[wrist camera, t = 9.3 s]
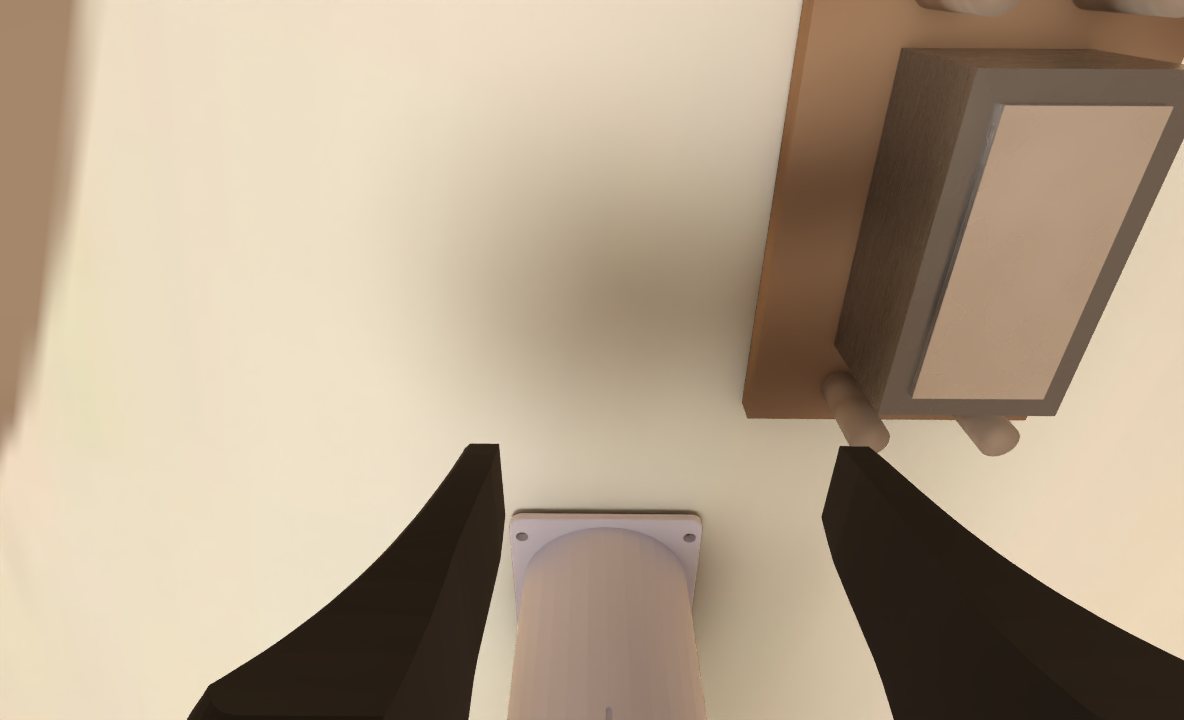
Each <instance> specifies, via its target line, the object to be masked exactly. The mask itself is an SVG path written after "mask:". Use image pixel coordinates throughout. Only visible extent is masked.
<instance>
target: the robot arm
mask: <svg viewBox="0 0 1184 720" xmlns="http://www.w3.org/2000/svg"><path fill="white" fill-rule="evenodd" d="M822 521H823V525H824V529H825V533H826V537H827V541H828V545H829V548H830V552H831V555H832V559H833V562H834V565H835V567H836V570H837V572H838V575H839V577H840V579H841V582H842V584H843V587H844V589H845V592H846V594H847V596H848V599H849V601H850V604H851V606H852V608H853V611H854V613H855V615H856V618H857V620H858V622H859V625H860V627H861V630H862V632H863V634H864V637H865V639H866V641H867V644H868V646H869V649H870V651H871V653H872V656H873V658H874V661H875V663H876V666H877V669H878V671H879V674H880V677H881V680H882V682H883V686H884V689H885V692H886V696H887V699H888V702H889V705H890V709H891V712H892V715H893V718H894V720H1184V660H1182V659H1180V658H1178V657H1176V656H1174V655H1171V654H1169V653H1167V652H1165V651H1163V650H1162V649H1160V648H1158V647H1156V646H1154V645H1152V644H1150V643H1148V642H1146V641H1144V640H1142V639H1140V638H1138V637H1136V636H1134V635H1132V634H1130V633H1128V632H1126V631H1124V630H1122V629H1120V628H1119V627H1117V626H1115V625H1113V624H1111V623H1109V622H1107V621H1106V620H1104V619H1102V618H1100V617H1098V616H1097V615H1095V614H1093V613H1092V612H1090V611H1088V610H1086V609H1085V608H1083V607H1081V606H1079V605H1078V604H1076V603H1074V602H1073V601H1071V600H1069V599H1067V598H1066V597H1064V596H1062V595H1061V594H1059V593H1058V592H1056V591H1054V590H1053V589H1051V588H1049V587H1048V586H1046V585H1045V584H1043V583H1042V582H1040V581H1039V580H1037V579H1036V578H1034V577H1033V576H1031V575H1030V574H1028V573H1027V572H1025V571H1024V570H1022V569H1021V568H1019V567H1018V566H1016V565H1015V564H1013V563H1012V562H1010V561H1009V560H1007V559H1006V558H1004V557H1003V556H1002V555H1000V554H999V553H997V552H996V551H995V550H993V549H992V548H991V547H989V546H988V545H987V544H985V543H984V542H983V541H981V540H980V539H979V538H977V537H976V536H975V535H974V534H972V533H971V532H970V531H968V530H967V529H966V528H964V527H963V526H962V525H961V524H959V523H958V522H957V521H956V520H954V519H953V518H952V517H951V516H950V515H948V514H947V513H946V512H945V511H943V510H942V509H941V508H940V507H939V506H937V505H936V504H935V503H934V502H933V501H932V500H930V499H929V498H928V497H927V496H926V495H925V494H923V493H922V492H921V491H920V490H919V489H918V488H916V487H915V486H914V485H913V484H912V483H911V482H910V481H908V480H907V479H906V478H905V477H904V476H903V475H902V474H900V473H899V472H898V471H897V470H896V469H895V468H894V467H892V466H891V465H890V464H889V463H888V462H887V461H886V460H884V459H883V458H882V457H881V456H880V455H879V454H877V453H876V452H875V451H874V450H873V449H871V448H870V447H869V446H840V448H839V451H838V455H837V459H836V463H835V467H834V471H833V475H832V478H831V482H830V486H829V490H828V494H827V498H826V502H825V506H824V509H823V513H822ZM504 522H505V506H504V495H503V484H502V472H501V461H500V450H499V444H469V445H468V446H467V447H466V448H465V449H464V451H463V453H462V454H461V456H460V457H459V459H458V460H457V462H456V463H455V465H454V466H453V468H452V469H451V471H450V472H449V474H448V475H447V476H446V478H445V479H444V481H443V482H442V483H441V485H440V486H439V487H438V489H437V490H436V491H435V493H434V494H433V495H432V497H431V498H430V499H429V500H428V502H427V503H426V504H425V506H424V507H423V508H422V509H421V511H420V512H419V513H418V514H417V516H416V517H415V518H414V519H413V520H412V521H411V523H410V524H409V525H408V526H407V527H406V528H405V529H404V531H403V532H402V533H401V534H400V535H399V536H398V537H397V539H396V540H395V541H394V542H393V543H392V544H391V545H390V546H389V547H388V548H387V550H386V551H385V552H384V553H383V554H382V555H381V556H380V557H379V558H378V559H377V560H376V561H375V562H374V563H373V564H372V565H371V566H370V567H369V568H368V569H367V570H366V571H365V572H363V573H362V574H361V575H360V576H359V577H358V578H357V579H356V580H355V581H354V582H353V583H351V584H350V585H349V586H348V587H347V588H346V589H345V590H344V591H342V592H341V593H340V594H339V595H338V596H337V597H336V598H334V599H333V600H332V601H331V602H330V603H329V604H327V605H326V606H325V607H324V608H322V609H321V610H320V611H319V612H317V613H316V614H315V615H314V616H312V617H311V618H310V619H308V620H307V621H306V622H304V623H303V624H302V625H300V626H299V627H298V628H296V629H295V630H294V631H292V632H291V633H289V634H288V635H287V636H285V637H284V638H283V639H281V640H280V641H278V642H277V643H276V644H274V645H273V646H271V647H270V648H268V649H267V650H265V651H264V652H262V653H261V654H259V655H257V656H256V657H254V658H253V659H251V660H249V661H248V662H246V663H245V664H243V665H241V666H240V667H238V668H237V669H235V670H234V671H232V672H230V673H229V674H227V675H226V676H224V677H222V678H221V679H219V680H217V681H216V682H214V683H212V684H210V685H209V686H208V688H207V689H206V691H205V693H204V694H203V696H202V697H201V699H200V700H199V701H198V703H197V704H196V706H195V707H194V709H193V710H192V712H191V713H190V715H189V717H188V718H187V720H468V718H469V711H470V703H471V696H472V688H473V681H474V675H475V669H476V664H477V659H478V654H479V650H480V645H481V641H482V637H483V632H484V628H485V624H486V620H487V615H488V611H489V607H490V602H491V598H492V594H493V589H494V585H495V581H496V576H497V572H498V567H499V563H500V558H501V550H502V541H503V532H504ZM509 528H510V540H511V551H512V563H513V575H514V586H515V598H516V610H517V622H518V631H517V639H516V647H515V656H514V664H513V673H512V681H511V690H510V698H509V707H508V715H507V720H707V716H706V709H705V702H704V696H703V689H702V682H701V675H700V669H699V662H698V655H697V648H696V641H695V635H694V628H693V621H692V614H691V613H692V606H693V598H694V590H695V582H696V575H697V567H698V559H699V551H700V544H701V536H702V523H701V519H700V518H699V517H697V516H695V515H684V514H548V513H520V514H516V515H514V516H513V517H512V518H511V521H510V527H509ZM520 532H523V533H526V534H520ZM686 534H692V535H686Z"/></svg>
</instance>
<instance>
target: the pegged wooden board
mask: <svg viewBox="0 0 1184 720" xmlns="http://www.w3.org/2000/svg"><path fill="white" fill-rule="evenodd" d="M901 48H1011V49H1095V50H1101V51H1107V52H1113V53H1119V54H1125V55H1131V56H1137V57H1143V58H1149V59H1155V60H1161V61H1167V62H1172V63H1178V64H1181V63H1182V60H1183V58H1184V0H803V6H802V12H801V19H800V25H799V32H798V39H797V45H796V52H795V58H794V65H793V71H792V78H791V85H790V91H789V98H788V104H787V111H786V117H785V124H784V131H783V137H782V144H781V150H780V157H779V163H778V170H777V177H776V183H775V190H774V196H773V203H772V209H771V216H770V223H769V229H768V236H767V242H766V249H765V255H764V262H763V269H762V275H761V282H760V288H759V295H758V301H757V308H756V315H755V321H754V328H753V334H752V341H751V347H750V354H749V361H748V367H747V374H746V380H745V387H744V393H743V400H742V404H743V406H744V409H745V412H746V415H747V418H768V419H836V421H837V423H838V425H839V426H840V428H841V430H842V432H843V434H844V436H845V438H846V440H847V442H848V443H849V445H850V446H869V447H870V448H871V449H873V450H874V451H875V452H876V453H878V452H879V451H881V450H882V449H884V448H885V447H886V445H887V444H888V442H889V438H890V436H889V432H888V430H887V429H886V427H885V426H884V424H883V422H882V421H881V419H911V420H956V421H957V422H958V423H959V425H960V426H961V427H962V428H963V430H964V431H965V432H966V434H967V435H968V436H969V437H970V439H971V440H972V441H973V442H974V444H975V445H976V446H977V447H978V449H979V450H980V451H981V452H982V453H983V454H985V455H987V456H999V455H1003V454H1005V453H1007V452H1009V451H1011V450H1012V449H1013V448H1014V447H1015V446H1016V445H1017V443H1018V441H1019V438H1020V435H1019V432H1018V430H1017V429H1016V428H1015V427H1014V426H1013V425H1012V424H1011V423H1010V421H1009V420H1026V418H1027V416H979V415H878V414H877V413H876V411H875V409H874V408H873V406H872V405H871V403H870V401H869V400H868V398H867V397H866V395H865V394H864V392H863V390H862V389H861V387H860V386H859V384H858V382H857V381H856V379H855V378H854V376H853V374H852V373H851V371H850V370H849V368H848V366H847V365H846V363H845V362H844V360H843V358H842V357H841V355H840V354H839V352H838V351H837V349H836V347H835V346H834V340H835V336H836V331H837V327H838V323H839V318H840V314H841V310H842V305H843V301H844V296H845V292H846V288H847V283H848V279H849V275H850V270H851V266H852V261H853V257H854V253H855V248H856V244H857V240H858V235H859V231H860V226H861V222H862V218H863V213H864V209H865V205H866V200H867V196H868V191H869V187H870V183H871V178H872V174H873V169H874V165H875V161H876V156H877V152H878V148H879V143H880V139H881V134H882V130H883V126H884V121H885V117H886V113H887V108H888V104H889V99H890V95H891V91H892V86H893V82H894V78H895V73H896V69H897V64H898V60H899V56H900V51H901Z"/></svg>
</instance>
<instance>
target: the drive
mask: <svg viewBox="0 0 1184 720" xmlns="http://www.w3.org/2000/svg"><path fill="white" fill-rule="evenodd" d="M1183 139H1184V64H1178V63H1172V62H1167V61H1161V60H1155V59H1149V58H1143V57H1137V56H1131V55H1125V54H1119V53H1113V52H1107V51H1101V50H1095V49H1011V48H901V51H900V56H899V60H898V64H897V69H896V73H895V78H894V82H893V86H892V91H891V95H890V99H889V104H888V108H887V113H886V117H885V121H884V126H883V130H882V134H881V139H880V143H879V148H878V152H877V156H876V161H875V165H874V169H873V174H872V178H871V183H870V187H869V191H868V196H867V200H866V205H865V209H864V213H863V218H862V222H861V226H860V231H859V235H858V240H857V244H856V248H855V253H854V257H853V261H852V266H851V270H850V275H849V279H848V283H847V288H846V292H845V296H844V301H843V305H842V310H841V314H840V318H839V323H838V327H837V331H836V336H835V340H834V346H835V347H836V349H837V351H838V352H839V354H840V355H841V357H842V358H843V360H844V362H845V363H846V365H847V366H848V368H849V370H850V371H851V373H852V374H853V376H854V378H855V379H856V381H857V382H858V384H859V386H860V387H861V389H862V390H863V392H864V394H865V395H866V397H867V398H868V400H869V401H870V403H871V405H872V406H873V408H874V409H875V411H876V413H877V414H878V415H979V416H1055V415H1056V413H1057V411H1058V408H1059V406H1060V404H1061V402H1062V400H1063V398H1064V396H1065V393H1066V391H1067V389H1068V387H1069V385H1070V383H1071V380H1072V378H1073V376H1074V374H1075V372H1076V370H1077V368H1078V365H1079V363H1080V361H1081V359H1082V357H1083V355H1084V352H1085V350H1086V348H1087V346H1088V344H1089V342H1090V339H1091V337H1092V335H1093V333H1094V331H1095V329H1096V327H1097V324H1098V322H1099V320H1100V318H1101V316H1102V314H1103V311H1104V309H1105V307H1106V305H1107V303H1108V301H1109V299H1110V296H1111V294H1112V292H1113V290H1114V288H1115V286H1116V283H1117V281H1118V279H1119V277H1120V275H1121V273H1122V270H1123V268H1124V266H1125V264H1126V262H1127V260H1128V258H1129V255H1130V253H1131V251H1132V249H1133V247H1134V245H1135V242H1136V240H1137V238H1138V236H1139V234H1140V232H1141V230H1142V227H1143V225H1144V223H1145V221H1146V219H1147V217H1148V214H1149V212H1150V210H1151V208H1152V206H1153V204H1154V201H1155V199H1156V197H1157V195H1158V193H1159V191H1160V189H1161V186H1162V184H1163V182H1164V180H1165V178H1166V176H1167V173H1168V171H1169V169H1170V167H1171V165H1172V163H1173V161H1174V158H1175V156H1176V154H1177V152H1178V150H1179V148H1180V145H1181V143H1182V141H1183Z"/></svg>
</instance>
